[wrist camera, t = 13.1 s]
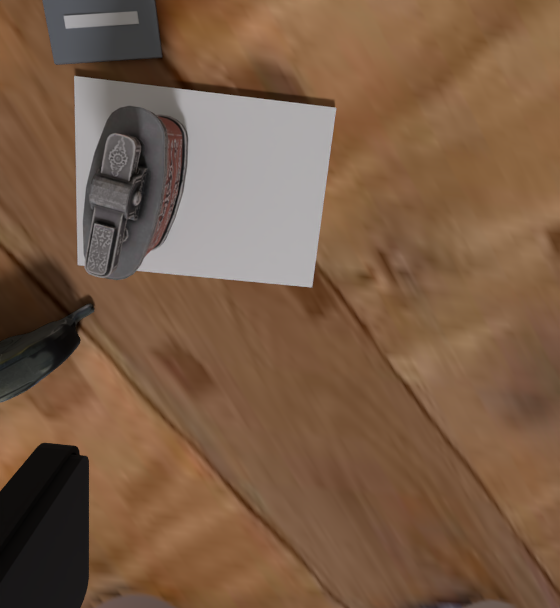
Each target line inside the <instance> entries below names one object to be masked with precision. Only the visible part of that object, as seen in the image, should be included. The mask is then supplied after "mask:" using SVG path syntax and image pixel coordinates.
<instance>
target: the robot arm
mask: <svg viewBox="0 0 560 608" xmlns="http://www.w3.org/2000/svg"><path fill="white" fill-rule="evenodd" d="M88 580H89V460H88V457H87V456H82V455H80V454H79V449H78V447H76V446H71V445H61V444H52V443H42V444H40V445H39V446H38V447H37V448H36V449H35V450H34V452H33V453H32V454H31V455H30V456H29V458H28V459H27V460H26V461H25V462H24V464H23V465H22V466H21V467H20V468H19V470H18V471H17V472H16V473H15V474H14V476H13V477H12V478H11V479H10V480H9V482H8V483H7V484H6V485H5V486H4V488H3V489H2V490H1V491H0V608H80V607H81V605H82V603H83V600H84V597H85V594H86V591H87V586H88Z"/></svg>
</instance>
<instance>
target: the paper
mask: <svg viewBox="0 0 560 608" xmlns="http://www.w3.org/2000/svg"><path fill="white" fill-rule="evenodd" d="M74 86H75V141H76V197H77V252H78V265H82V266H85V257H84V249H83V213H84V203H85V192H86V185H87V181H88V177H89V173H90V169H91V165H92V160H93V156H94V152H95V150H96V147H97V145H98V142H99V139H100V137H101V134H102V132H103V129H104V126H105V124H106V121H107V119H108V118H109V116H110V115H111V113H112V112H114V111H115V110H117V109H118V108H121V107H126V106H135V107H141V108H144V109H146V110H148V111H151V112H153V113H154V114H155V115H159V114H160V115H167V116H170V117H173V118H175V119H177V120H178V121H179V122H180V123H181V124H183V125H184V127H185V129H186V131H187V134H188V165H187V172H186V179H185V185H184V192H183V195H182V199H181V202H180V205H179V209H178V212H177V215H176V218H175V220H174V223H173V225H172V227H171V229H170V231H169V234H168V236H167V238H166V240H165V241H164V243H163V244H162V245H161V246H160V247H159V248H157V249H155V250H153V251H150V252H149V253H148V254H147V255H146V256H145V257H144V259H143V261H142V264H141V265H140V267H139V268H138V269H137V271H145V272H155V273H166V274H176V275H187V276H197V277H208V278H219V279H229V280H240V281H250V282H261V283H271V284H282V285H292V286H303V287H312V284H313V277H314V269H315V262H316V254H317V247H318V240H319V232H320V225H321V217H322V210H323V202H324V195H325V188H326V180H327V173H328V165H329V158H330V151H331V143H332V136H333V128H334V121H335V113H336V108H334V107H326V106H317V105H309V104H301V103H293V102H285V101H276V100H268V99H260V98H252V97H243V96H235V95H227V94H219V93H210V92H202V91H194V90H186V89H178V88H169V87H161V86H153V85H145V84H136V83H128V82H120V81H112V80H103V79H95V78H87V77H79V76H74Z"/></svg>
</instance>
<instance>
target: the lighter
mask: <svg viewBox="0 0 560 608" xmlns="http://www.w3.org/2000/svg"><path fill="white" fill-rule="evenodd" d="M187 165H188V134H187V131H186V129H185V127H184V125H183V124H181V123H180V122H179V121H178V120H177V119H175V118H173V117H170V116H167V115H160V114H159V115H155V114H154V113H153V112H151V111H148V110H146V109H144V108H141V107H135V106H126V107H121V108H118V109H117V110H115V111H114V112H112V113H111V115H110V116H109V118H108V119H107V121H106V124H105V126H104V129H103V132H102V134H101V137H100V139H99V142H98V145H97V147H96V150H95V152H94V156H93V160H92V165H91V169H90V173H89V177H88V181H87V185H86V192H85V203H84V213H83V249H84V257H85V269H86V271H87V272H88V273H89V274H90V275H93V276H96V277H101V278H106V279H113V280H120V279H125V278H127V277H129V276H131V275H133V274H134V273H135V272H136V271H137V269H138V268H139V267H140V265H141V264H142V261H143V259H144V257H145V256H146V255H147V254H148V253H149V252H150V251H153V250H155V249H157V248H159V247H160V246H161V245H162V244H163V243H164V241H165V240H166V238H167V236H168V234H169V231H170V229H171V227H172V225H173V223H174V220H175V218H176V215H177V212H178V209H179V205H180V202H181V199H182V195H183V192H184V185H185V179H186V172H187Z"/></svg>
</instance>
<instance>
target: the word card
mask: <svg viewBox="0 0 560 608" xmlns="http://www.w3.org/2000/svg"><path fill="white" fill-rule="evenodd" d="M43 5H44V11H45V16H46V21H47V26H48V32H49V37H50V42H51V47H52V53H53V58H54V63H55V64H56V65H60V64H75V63H90V62H105V61H120V60H135V59H151V58H163V57H162V49H161V41H160V33H159V25H158V18H157V10H156V2H155V0H43Z"/></svg>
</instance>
